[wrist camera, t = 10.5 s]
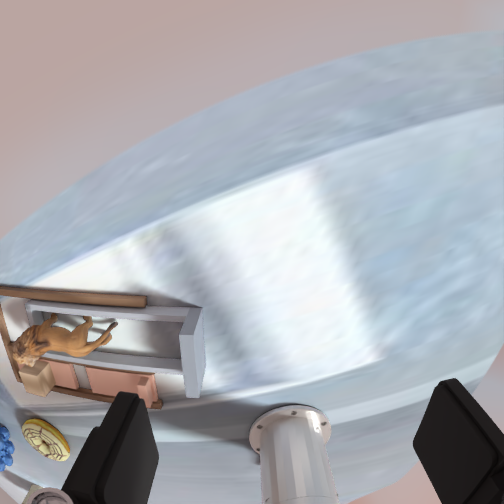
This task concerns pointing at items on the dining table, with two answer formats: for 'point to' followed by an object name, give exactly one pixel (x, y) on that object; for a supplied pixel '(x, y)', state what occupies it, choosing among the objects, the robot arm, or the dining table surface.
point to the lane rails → (73, 298)
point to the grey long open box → (187, 366)
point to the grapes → (5, 449)
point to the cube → (38, 378)
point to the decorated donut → (46, 439)
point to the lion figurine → (56, 340)
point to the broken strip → (106, 380)
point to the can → (32, 490)
